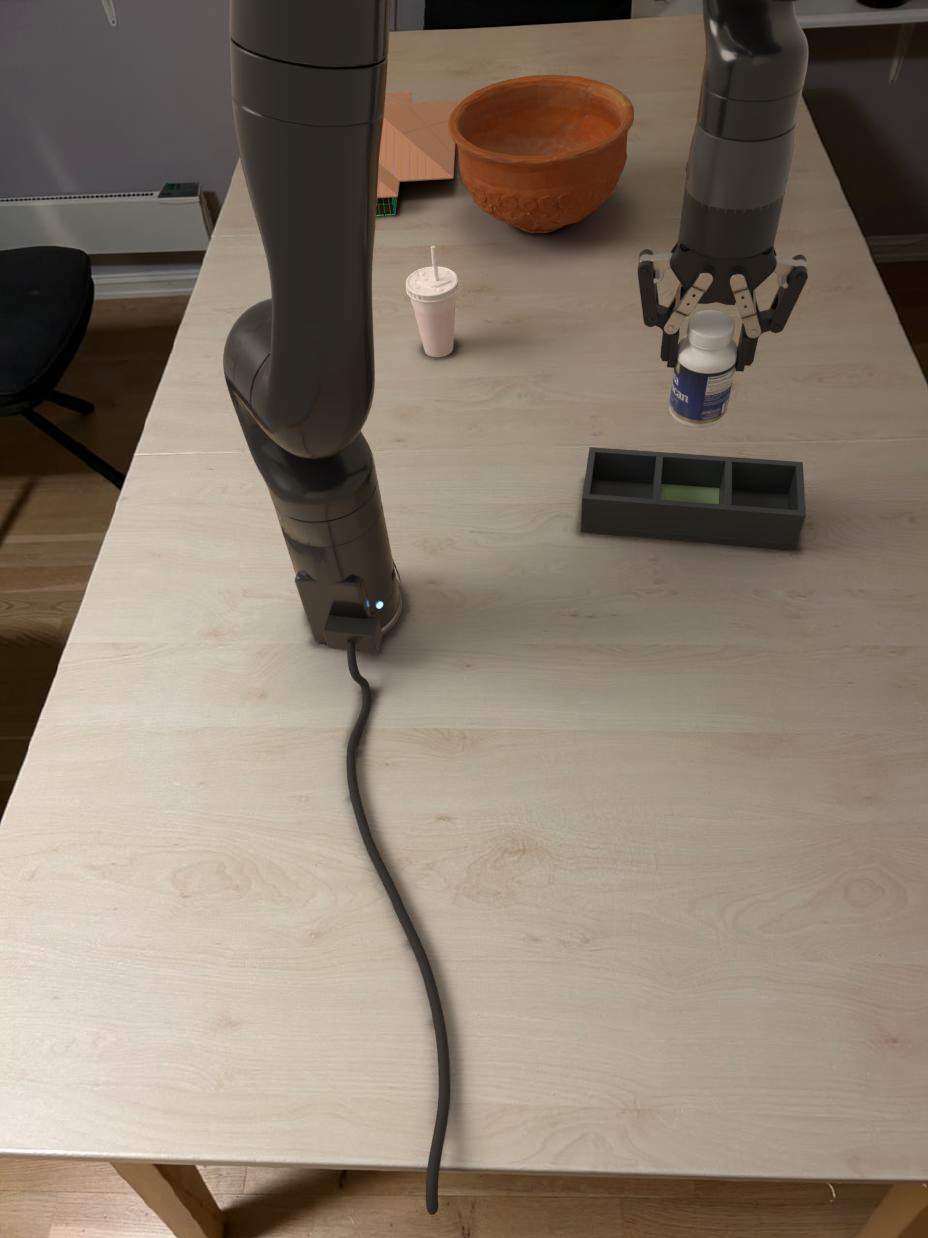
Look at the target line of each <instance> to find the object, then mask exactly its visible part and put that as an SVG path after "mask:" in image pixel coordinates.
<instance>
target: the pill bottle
mask: <svg viewBox="0 0 928 1238" xmlns="http://www.w3.org/2000/svg"><path fill="white" fill-rule="evenodd" d="M735 328H736V323H735V320H734V319H733V317H732V316H731V315H730V314H728V313H726V312H724V311H721V310H715V309H705V310H699V311H698V312H695V313H694V314H692V315H691V316H690V318H689V320H688V323H687V329H686V335H684V336H683V337H682V338H681V339H680V341H678V348H677V355H676V362H675V368H673V370H672V379H671V388H670V395H669V402H668V403H669V404H668V409H669V413H670V415H671V417H673V419H674V420H675V421H677V423H680V424H681V425H684V426H686V427H690V428H695V429H696V428H697V429H702V428H708V427H712V426H715V425H716V424H718V423H720V422H721V421H722V420H723V419H724V418H725V416H726V414H727V410H728V407H729V403H730V397H731V392H732V387H733V383H734V382H733V381H734V376H735V372H736V371H735V367H736V362H737V356H738V348H737V347H738V344H736V342H735V340H734V335H735Z"/></svg>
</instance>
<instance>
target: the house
mask: <svg viewBox="0 0 928 1238" xmlns="http://www.w3.org/2000/svg"><path fill="white" fill-rule="evenodd" d="M412 98H413V92H401V93H386V94H385V107H384V119H383V128H382V136H381V145H380V155H379V168H378V187H377V201H379V199H387V200H388V206H389V208H388V209H389V210H391V206H390V205H392V208H393V209H392V210H393V213H391V212H389V213H390V214H386V216H395V215H396V211H397V206H398V205H397V204H398V198H399V189H400V183H405V182H422V181H424V182H425V181H439V180H440V181H441V180H443V181H444V180H454V173H455V158H456V156H455V155H456V143H455V142H454V141H453V140H452V138H451V136H450V133H449V129H448V121H449V117H450V115H451V113H452V112H453V110H454V108H455V107H456V106H457V105H458V104H459V103H458V102H459V101H458V100H446V101H429V102H413V103H412V101H413V100H412ZM389 198H391V200H392V201H391V202H390V199H389ZM382 202H383V203H382V205H383V206H385V205H387V203H385V200H382ZM380 205H381V203H377V207H378V208H380ZM383 210H384V212H386V211H385V210H386V209H385V207H383ZM380 211H381V210H378V214H376V217H378V216H379V217H380V216H383V214H381V212H380Z"/></svg>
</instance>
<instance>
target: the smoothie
mask: <svg viewBox="0 0 928 1238" xmlns="http://www.w3.org/2000/svg"><path fill="white" fill-rule="evenodd" d="M430 255H431V265H432V266H426V267H425V266H424V267H422V268H419V269H416V270H414V271H413V272H411V273H410V274H409V276H407V278H406V280H405V292H406V294H407V295H408V296H409V298H410V301H411V304H412V308H413V312H414V316H415V320H416V323H417V327H418V331H419V334H420V335H419V336H420V338H421V342H422V346H423V351H424V352H425V354H426V355H427V356H429V357H432V358H443V357H447V356H449V355H450V354H451V353H453V351H454V342H455V341H454V340H455V324H456V323H455V322H456V302H457V292H458V290H459V287H460V284H459V276H458V275H457V273H456V272H455V271H453V270H452V269H450V268H448V267H445V266H439V265H438V260H437V259H438V258H437V249H436V245H430Z"/></svg>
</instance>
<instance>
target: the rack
mask: <svg viewBox="0 0 928 1238" xmlns="http://www.w3.org/2000/svg"><path fill="white" fill-rule="evenodd" d="M588 448H589V449H588V453H587V454H588V455H587V462H586V468H585V475H584V481H583V482H584V483H583V490H582V496H581V513H580V514H581V515H580V533H588V534H598V535H599V534H600V535H601V534H602V535H612V536H623V537H624V536H625V537H637V538H645V539H646V538H648V539H658V540H659V539H660V540H672V541H684V542H694V543H695V542H697V543H706V544H718V545H729V546H743V547H754V548H765V549H777V550H789V551H796V548H797V545H798V542H799V539H800V536H801V533H802V529H803V527H804V523H805V520H806V516H807V512H806V494H805V493H806V492H805V476H804V462H803V461H795V460H794V461H793V460H780V459H767V458H766V459H764V458H750V457H737V456H725V455H724V456H723V455H722V456H721V455H709V454H708V455H707V454H695V453H694V454H692V453H680V452H679V453H678V452H667V451H666V452H664V451H651V450H637V449H636V450H635V449H625V448H624V449H622V448H609V447H608V448H607V447H593V446H589V447H588Z"/></svg>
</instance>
